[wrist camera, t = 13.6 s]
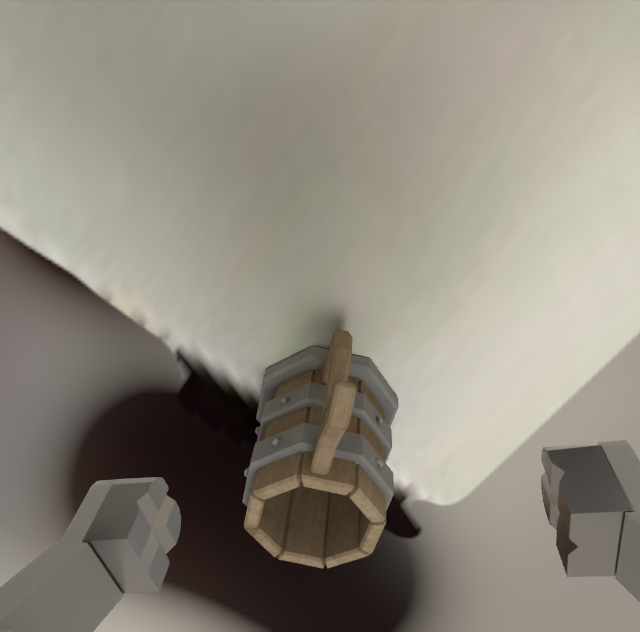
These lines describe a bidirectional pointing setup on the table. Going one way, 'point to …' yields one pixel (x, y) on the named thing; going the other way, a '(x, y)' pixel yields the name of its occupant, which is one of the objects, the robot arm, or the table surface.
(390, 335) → the table surface
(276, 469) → the tankard
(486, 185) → the table surface
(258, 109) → the table surface
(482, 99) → the table surface
